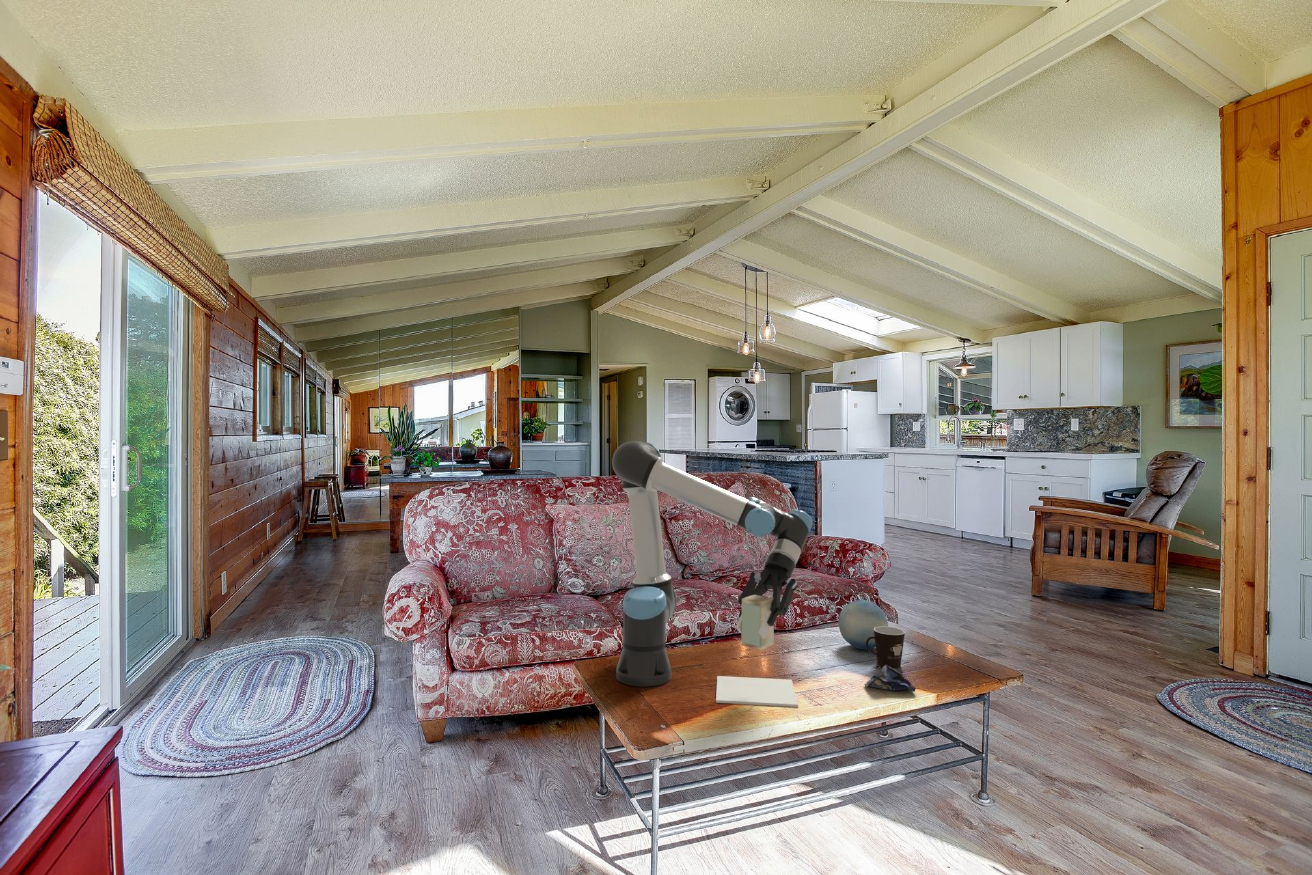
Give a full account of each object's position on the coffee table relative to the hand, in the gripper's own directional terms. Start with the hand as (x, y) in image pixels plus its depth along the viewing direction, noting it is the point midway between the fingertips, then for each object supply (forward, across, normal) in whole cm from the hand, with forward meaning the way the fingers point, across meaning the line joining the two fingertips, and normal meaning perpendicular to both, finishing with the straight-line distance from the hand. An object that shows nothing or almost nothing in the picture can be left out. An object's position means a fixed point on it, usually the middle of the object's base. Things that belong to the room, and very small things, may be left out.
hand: (750, 632), depth 168 cm
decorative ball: (-29, -6, -52) cm, 60 cm away
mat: (+9, 0, -14) cm, 16 cm away
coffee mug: (-21, -17, -44) cm, 52 cm away
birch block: (0, 0, -5) cm, 5 cm away
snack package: (-9, -25, -32) cm, 42 cm away
